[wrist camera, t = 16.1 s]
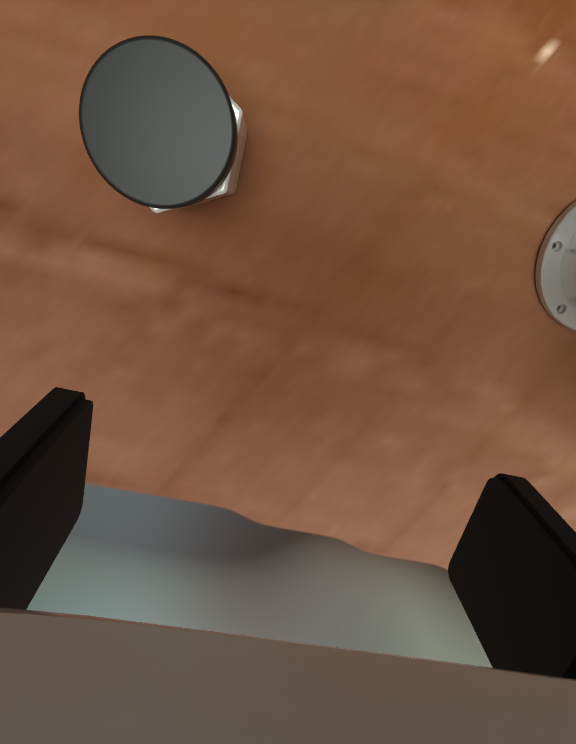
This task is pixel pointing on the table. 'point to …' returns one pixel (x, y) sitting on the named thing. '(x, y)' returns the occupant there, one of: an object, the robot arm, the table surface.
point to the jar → (161, 124)
